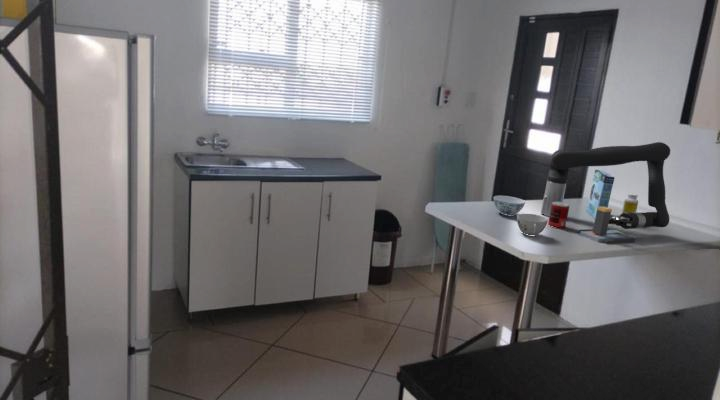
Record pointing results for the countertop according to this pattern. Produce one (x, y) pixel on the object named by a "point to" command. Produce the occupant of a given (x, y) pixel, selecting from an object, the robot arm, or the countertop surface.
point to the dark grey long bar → (619, 240)
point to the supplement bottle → (630, 203)
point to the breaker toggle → (602, 220)
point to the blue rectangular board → (609, 235)
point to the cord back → (587, 230)
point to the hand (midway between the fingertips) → (605, 221)
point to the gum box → (599, 192)
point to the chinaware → (508, 204)
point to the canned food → (558, 214)
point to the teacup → (531, 223)
